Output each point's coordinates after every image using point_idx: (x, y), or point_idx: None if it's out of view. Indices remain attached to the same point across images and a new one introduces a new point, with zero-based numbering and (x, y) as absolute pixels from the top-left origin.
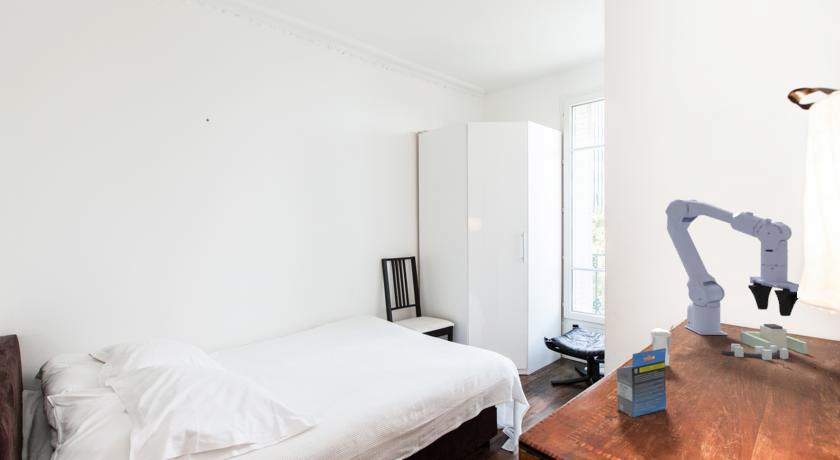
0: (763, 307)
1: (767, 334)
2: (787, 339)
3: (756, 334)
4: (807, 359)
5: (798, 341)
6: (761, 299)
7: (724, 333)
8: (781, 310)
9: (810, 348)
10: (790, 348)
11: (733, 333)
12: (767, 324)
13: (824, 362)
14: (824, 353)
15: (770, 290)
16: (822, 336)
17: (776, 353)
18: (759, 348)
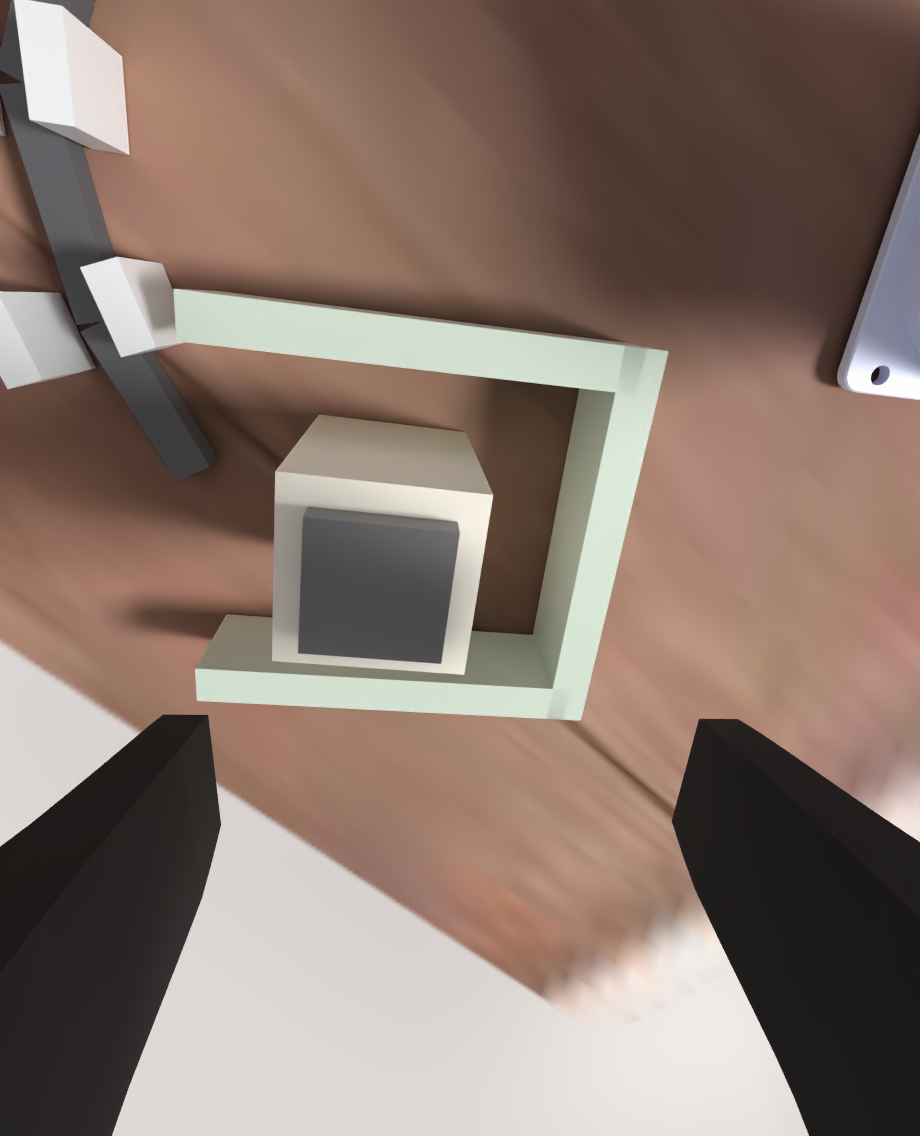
0: (700, 801)
1: (349, 455)
2: None
3: (582, 506)
4: (72, 531)
5: (257, 670)
6: (823, 935)
7: (858, 355)
8: (99, 776)
9: (377, 768)
10: None
11: (864, 505)
12: (428, 559)
13: (8, 599)
14: (255, 766)
15: None
16: (619, 1003)
17: None
18: (27, 48)
